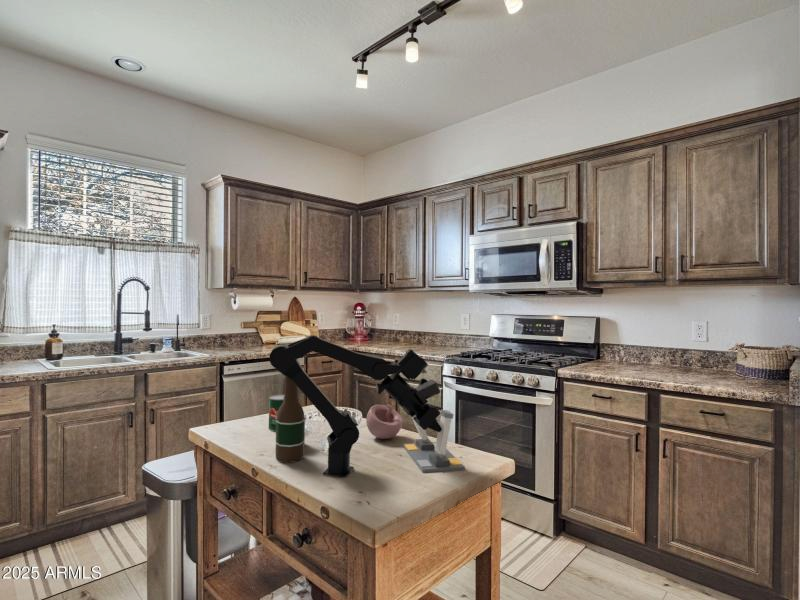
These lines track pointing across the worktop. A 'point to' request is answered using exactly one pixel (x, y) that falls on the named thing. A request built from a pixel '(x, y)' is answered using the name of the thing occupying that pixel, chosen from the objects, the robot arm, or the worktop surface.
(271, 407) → the canned tomato
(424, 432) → the lever rear
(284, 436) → the beer bottle
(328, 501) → the worktop surface
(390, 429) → the mortar and pestle
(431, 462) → the switch base
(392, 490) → the worktop surface
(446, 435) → the lever front
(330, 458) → the robot arm
